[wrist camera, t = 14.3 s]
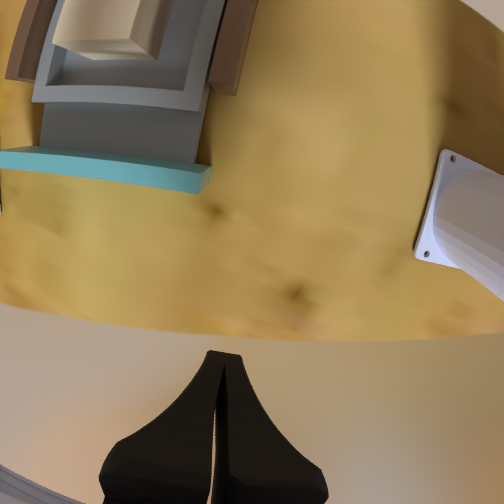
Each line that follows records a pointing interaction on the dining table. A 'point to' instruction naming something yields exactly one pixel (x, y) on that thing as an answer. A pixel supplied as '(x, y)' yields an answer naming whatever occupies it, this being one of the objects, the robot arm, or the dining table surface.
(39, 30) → the dock
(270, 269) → the dining table surface
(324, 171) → the dining table surface
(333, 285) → the dining table surface
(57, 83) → the tray
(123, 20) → the birch block
